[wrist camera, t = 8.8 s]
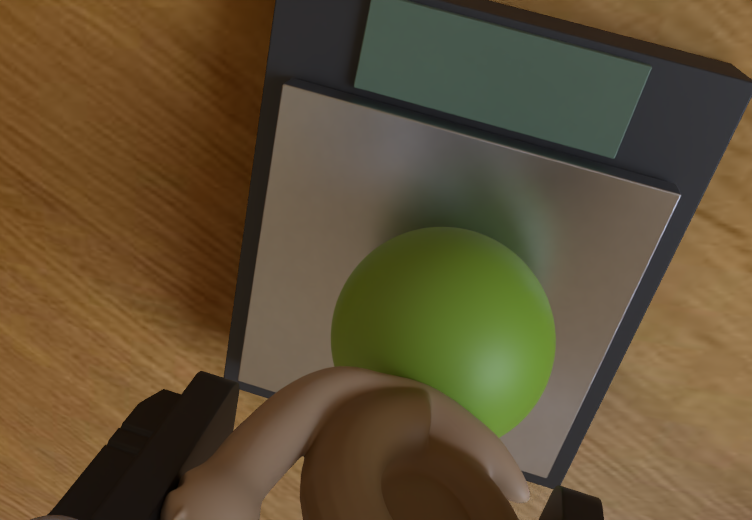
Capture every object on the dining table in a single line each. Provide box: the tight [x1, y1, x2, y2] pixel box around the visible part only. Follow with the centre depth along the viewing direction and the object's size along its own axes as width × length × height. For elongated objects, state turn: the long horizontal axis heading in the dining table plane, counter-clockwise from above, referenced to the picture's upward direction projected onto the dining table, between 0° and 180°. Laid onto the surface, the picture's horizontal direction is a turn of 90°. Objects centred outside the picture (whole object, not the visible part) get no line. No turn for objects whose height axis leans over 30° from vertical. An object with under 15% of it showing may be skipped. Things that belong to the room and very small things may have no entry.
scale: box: [224, 0, 752, 489], centre depth 21 cm, size 14×12×3 cm
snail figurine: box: [160, 227, 556, 520], centre depth 14 cm, size 5×6×12 cm
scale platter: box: [238, 78, 681, 478], centre depth 20 cm, size 10×10×1 cm
